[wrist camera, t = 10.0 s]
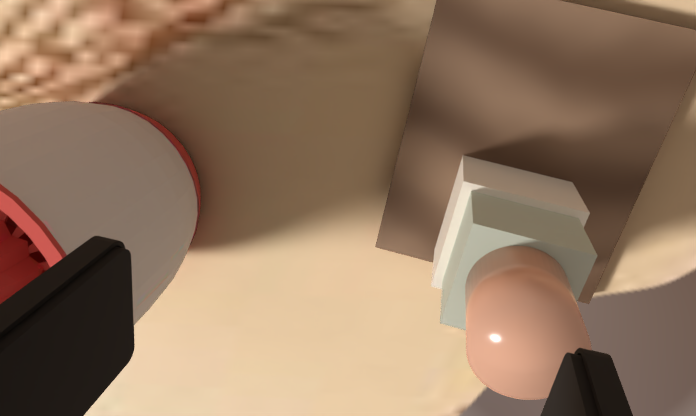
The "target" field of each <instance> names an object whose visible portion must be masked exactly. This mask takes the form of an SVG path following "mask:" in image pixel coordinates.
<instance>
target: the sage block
mask: <svg viewBox="0 0 696 416" xmlns="http://www.w3.org/2000/svg"><path fill="white" fill-rule="evenodd" d="M507 246H528V247H533V248H536V249H539V250H541V251H543V252H546V253H547V254H549V255H550V256H552V257H553V258H554V259H555V260H556V261H557V262H558V263H559V264H560V265H561V266H562V268H563V269H564V271H565V273H566V275H567V278H568V281H569V283H570V286H571V289H572V292H573V294H574V297H575V300H576V303H577V301H578V298H579V296H580V294H581V292H582V289H583V287H584V285H585V283H586V280H587V278H588V276H589V274H590V271H591V269H592V267H593V265H594V263H595V260H596V258H597V254H596V252H595V250H594V248H593V246H592V244H591V242H590V240H589V238H588V236H587V234H586V232H585V230H584V228H583V226H582V224H581V222H580V220H579V218H576V217H572V216H568V215H564V214H560V213H556V212H552V211H548V210H544V209H540V208H537V207H533V206H529V205H525V204H521V203H517V202H513V201H509V200H505V199H501V198H497V197H493V196H490V195H486V194H482V193H478V192H474V191H471V193H470V196H469V199H468V202H467V205H466V208H465V211H464V215H463V218H462V221H461V224H460V227H459V230H458V233H457V237H456V240H455V243H454V246H453V249H452V252H451V255H450V258H449V262H448V265H447V268H446V271H445V274H444V277H443V280H442V297H441V316H440V323H441V324H445V325H448V326H452V327H456V328H459V329H463V330H466V312H465V283H466V279H467V276H468V274H469V272H470V270H471V268H472V267H473V265H474V264H475V263H476V262H477V261H478V260H479V259H480V258H481V257H483V256H484V255H486V254H487V253H489V252H491V251H493V250H496V249H498V248H502V247H507Z"/></svg>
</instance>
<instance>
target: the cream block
mask: <svg viewBox="0 0 696 416" xmlns="http://www.w3.org/2000/svg"><path fill="white" fill-rule="evenodd" d="M471 191H474V192H478V193H482V194H486V195H490V196H493V197H497V198H501V199H505V200H509V201H513V202H517V203H521V204H525V205H529V206H533V207H537V208H540V209H544V210H548V211H552V212H556V213H560V214H564V215H568V216H572V217H576V218H579V220H580V222H581V224H582V226H583V228H584V226H585V223H586V221H587V219H588V216H589V214H590V212H589V211H588V209H587V207H586V205H585V203H584V202H583V200H582V198H581V196H580V195H579V193H578V191H577V189H576V187H575V186H574V184H573V182H569V181H565V180H561V179H557V178H553V177H549V176H545V175H541V174H537V173H533V172H529V171H525V170H521V169H517V168H513V167H509V166H505V165H501V164H497V163H493V162H489V161H484V160H480V159H476V158H472V157H468V156H464V155H463V156H462V160H461V163H460V166H459V170H458V173H457V176H456V180H455V183H454V186H453V190H452V193H451V196H450V200H449V203H448V206H447V209H446V213H445V216H444V219H443V223H442V226H441V229H440V233H439V236H438V239H437V243H436V246H435V249H434V260H433V271H432V282H431V286H432V287H436V288H440V289H442V280H443V277H444V274H445V271H446V268H447V265H448V262H449V258H450V255H451V252H452V249H453V246H454V243H455V240H456V237H457V233H458V230H459V227H460V224H461V221H462V218H463V215H464V211H465V208H466V205H467V202H468V199H469V196H470V193H471Z"/></svg>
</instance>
